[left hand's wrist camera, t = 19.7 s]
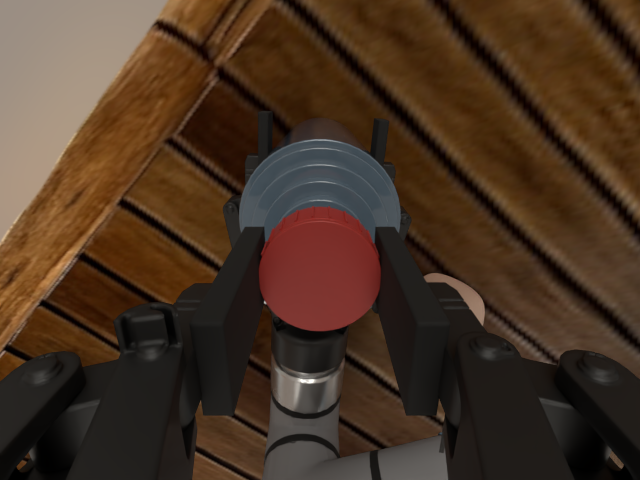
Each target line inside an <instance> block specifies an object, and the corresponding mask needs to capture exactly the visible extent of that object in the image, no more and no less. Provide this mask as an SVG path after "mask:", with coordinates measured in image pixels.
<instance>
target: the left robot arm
mask: <svg viewBox="0 0 640 480" xmlns="http://www.w3.org/2000/svg"><path fill="white" fill-rule="evenodd" d="M374 243H375V246H376V248H377V251H378V254H379V257H380V258H378V259H379V262H380V266H381V279H380V290H379V293H378V296H377V298H376V300H375V302H376V306H377V309H378V313H379V317H380V320H381V324H382V328H383V331H384V335H385V339H386V343H387V346H388V350H389V354H390V357H391V361H392V365H393V368H394V372H395V376H396V380H397V383H398V387H399V391H400V394H401V398H402V402H403V405H404V409H405V413H406V415H436V414H437V408H438V401H439V399H440V401H441V404H442V407H443V409H444V412H445V418H444V424H443V430H442V436H441V442H440V449H439V453H444V449H445V455H446V464H447V474H448V480H640V379H638V378H637V377H636V376H635V375H634V374H633V373H631V372H630V371H629V370H628V369H627V368H625V367H624V366H622V365H621V364H619V363H618V362H616V361H614V360H612V359H610V358H608V357H606V356H604V355H602V354H599V353H595V352H591V351H585V350H570V351H566V352H564V353H563V354H562V355H561V356H560V359H559V362H558V366H557V365H552V364H548V363H543V362H538V361H533V360H529V359H525V358H521V356H520V353H519V352H518V350H517V349H516V348H515V346H514V345H513V344H511V343H510V342H508V341H507V340H506V339H504V338H501V337H499V336H497V335H495V334H491V333H487V331H486V330H485V329H484V327H483V326H482V324H481V323H480V322H479V320H478V319H477V317H476V316H475V315H474V313H473V312H472V310H471V309H469V306H468V305H467V303H466V302H465V301H464V299H463V298H462V296H461V295H460V293H459V292H458V291H457V290H456V289H455V288H453V287H452V286H450V285H449V284H447V283H445V282H426V280H425V278H424V277H423V275H422V273H421V271H420V270H419V268H418V266H417V265H416V263H415V261H414V259H413V258H412V256H411V254H410V252H409V251H408V249H407V247H406V245H405V244H404V242H403V240H402V238H401V237H400V235H399V233H398V232H397V230H396V228H395V227H375V241H374ZM264 245H265V229H264V227H245V228H244V229H243V231H242V233H241V235H240V236H239V238H238V240H237V242H236V243H235V245H234V247H233V248H232V250H231V252H230V254H229V255H228V257H227V259H226V261H225V262H224V264H223V266H222V268H221V269H220V271H219V273H218V275H217V276H216V278H215V280H214V281H213V283H195V284H193V285H192V286H190V287H189V288H187V289H186V290H184V291H183V292H182V293H181V295H180V296H179V297H178V299H177V300H176V303H174V304H173V305H172V304H168V303H164V302H152V303H147V304H142V305H138V306H136V307H133V308H130V309H128V310H127V311H125V312H123V313H122V314H120V315H119V316H118V317H117V318H116V319H115V320H114V321H113V323H114V327H115V331H116V335H117V339H118V343H119V347H120V351H121V354H120V356H119V359H117V360H113V361H110V362H105V363H100V364H95V365H90V366H85V367H82V364H81V360H80V357H79V356H78V355H76V354H75V353H72V352H66V351H62V352H52V353H48V354H45V355H41V356H38V357H35V358H34V359H32V360H30V361H27V362H25V363H23V364H22V365H21V366H19V367H18V368H16V369H15V370H13V371H12V372H11V373H10V374H9V375H7V376H6V377H5V378H4V379H3V380H2V381H0V480H192V475H193V465H194V456H195V446H196V437H197V425H196V418H195V413H196V410H197V408H198V405H199V403H200V400H201V403H202V409H203V415H234V412H235V408H236V405H237V401H238V397H239V393H240V390H241V386H242V382H243V379H244V375H245V371H246V368H247V364H248V360H249V356H250V353H251V349H252V345H253V342H254V338H255V334H256V331H257V327H258V323H259V320H260V316H261V312H262V308H263V305H264V301H265V300H264V298H263V296H262V294H261V291H260V283H259V264H260V261H261V258H262V256H261V253H262V250H263V247H264ZM611 451H613V452H614V453H615V455H616V456H617V457H618V458H619V459H620V460H621V462H622V463H623V464H624V466H623V468H622V469H621V468H619V467H618V466H617V465H616V464H615V463H614V461H613V460H612V459H611V458H610V457H609V455H610V453H611ZM28 452H29V454H30V456H31V458H30V460H29V461H28V462H27V463H26V464H25V465H24V466H23V467H22V468H21V469H20V470H18V469H17V467H16V466H17V465H18V464H19V463H20V462H21V460H22V459H23V458H24V457H25V456H26V455H27V453H28Z"/></svg>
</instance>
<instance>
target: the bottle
mask: <svg viewBox="0 0 640 480" xmlns="http://www.w3.org/2000/svg"><path fill="white" fill-rule="evenodd" d="M312 206H314V207H328V206H330V207H331V208H334V209H338V210H341V211H346V213H347V214H349V215H351V216H352V217H354V218H355V219H359V221H360V223H361V224H362V225H363V226H364V228H365V229H366V230H368V231H369V233H370V235H371V238H372V241H373V243H374V241H375V227H395V228H396V230H397V232H398V233H399V230H400V221H401V210H400V203H399V197H398V194H397V191H396V188H395V186H394V184H393V182H392V180H391V178H390V177H389V175H388V174H387V172H386V171H385V169H384V168H383V167H382V166H381V165H380V164H379V163H378V162H377V160H376V159H375V158H374V157H373V156H372V155H371V154H370V153H369V152H368V150H367V149H366V148H365V147H364V146H363V145H362V144H361V143H360V141H359V140H358V139H357V138H356V137H355V136H354V135H353V134H352V132H351V131H350V130H349V129H348V128H346V127H345V126H344V125H342V124H341V123H339V122H337V121H334V120H331V119H326V118H313V119H309V120H306V121H303V122H301V123H299V124H298V125H296V126H295V127H294V128H292V129H291V130H290V131H289V132H288V134H287V135H286V136H285V137H284V138H283V139H282V140H281V141H280V142H279V144H278V145H277V146H276V147H275V148H274V149H273V150H272V151H271V152H270V154H269V155H268V156H267V157H266V158H265V159H264V160H263V161H262V162H261V164H260V165H259V166H258V167H257V168H256V169H255V171H254V172H253V174H252V175H251V176H250V178H249V180H248V182H247V184H246V186H245V188H244V191H243V194H242V197H241V202H240V208H239V223H240V230H241V233H242V231H243V229H244V228H245V227H264V229H265V242H266V241H268V239H269V237H270V234H271V231H272V229H273V228H274V229H275V227H276V226H277V225H278V224H279V223H280V222H281V221H282V219H283V218H284V217H285V218H286V217H287V216H289V215H291V214H292V213H294V212H296V210H302V209H306V208H311V207H312Z"/></svg>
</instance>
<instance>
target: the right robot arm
mask: <svg viewBox="0 0 640 480" xmlns="http://www.w3.org/2000/svg"><path fill="white" fill-rule="evenodd" d="M272 122H273V111H261V112H258V154H257V153H250V154H249V155H248V156H247V158H246V161H245V186H246V184H247V182H248V180H249V178H250V176H251V175H252V174H253V172H254V171H255V169H256V168H257V167H258V166H259V165H260V164H261V162H262V161H263V160H264V159H265V158H266V157H267V156H268V155H269V154H270V152H271V151H272ZM388 126H389V121H388V120H385V119H375V118H374V126H373V134H372V143H371V152H370V154H371V155H372V156H373V157H374V158H375V159H376V160H377V162H378V163H379V164H380V165H381V166H382V167H383V168H384V169H385V171H386V172H387V174H388V175H389V177H390V178H391V180H392V182H393V184H394V178H395V172H396V171H395V168H394V165H393V164H392V163H391V162H384V157H385V149H386V142H387V134H388ZM241 197H242V195H238V196H232V197H231V198H230V199H229V200H228V201H227V203H226V204H225V205H224V207H223V213H224V217H225V221H226V225H227V229H228V234H229V238H230V242H231V246H232V248H233V247H234V245H235V243H236V242H237V240H238V238H239V236H240V235H241V230H240V223H239V208H240V202H241ZM400 210H401V221H400V230H399V235H400V237H401V238H402V240H403V242H404V239H405V237H406V234H407V231H408V229H409V226H410V223H411V217H410V216H409V214H408V213H407V212H406V210H405V209H404V208H403V207H402V206H400ZM264 304H266V302H265V301H264ZM267 307H268V309H269V310H270V312H271V315H272V339H271V349H272V355H271V407H270V423H269V431H268V438H267V444H266V450H265V458H264V472H263V477H262V480H448V474H447V464H446V455H445V449H444V453H439V449H440V442H441V436H442V432H441V433H439V434H438V436H434V437H430V438H426V439H422V440H418V441H414V442H410V443H406V444H401V445H397V446H393V447H389V448H385V449H381V450H374V451H369V452H364V453H360V454H356V455H351V456H347V457H342V458H340V455H339V437H338V420H339V406H340V397H341V390H342V384H343V374H344V365H345V354H346V346H347V337H348V328H349V325H347V326H345V327H342V328H339V329H335V330H329V331H310V330H305V329H301V328H298V327H295V326H293V325H291V324H288V323H287V322H285V321H283V320H282V319H281V318H279V317H278V316H277V315H276V314H275V313H274V312H273V311H272V310H271V309H270V308H269V306H268V305H267ZM370 308H372V309H373V311H374V312H375V313H378V309H377V306H376V302H374V303H373V305H372V306H371V307H370Z"/></svg>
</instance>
